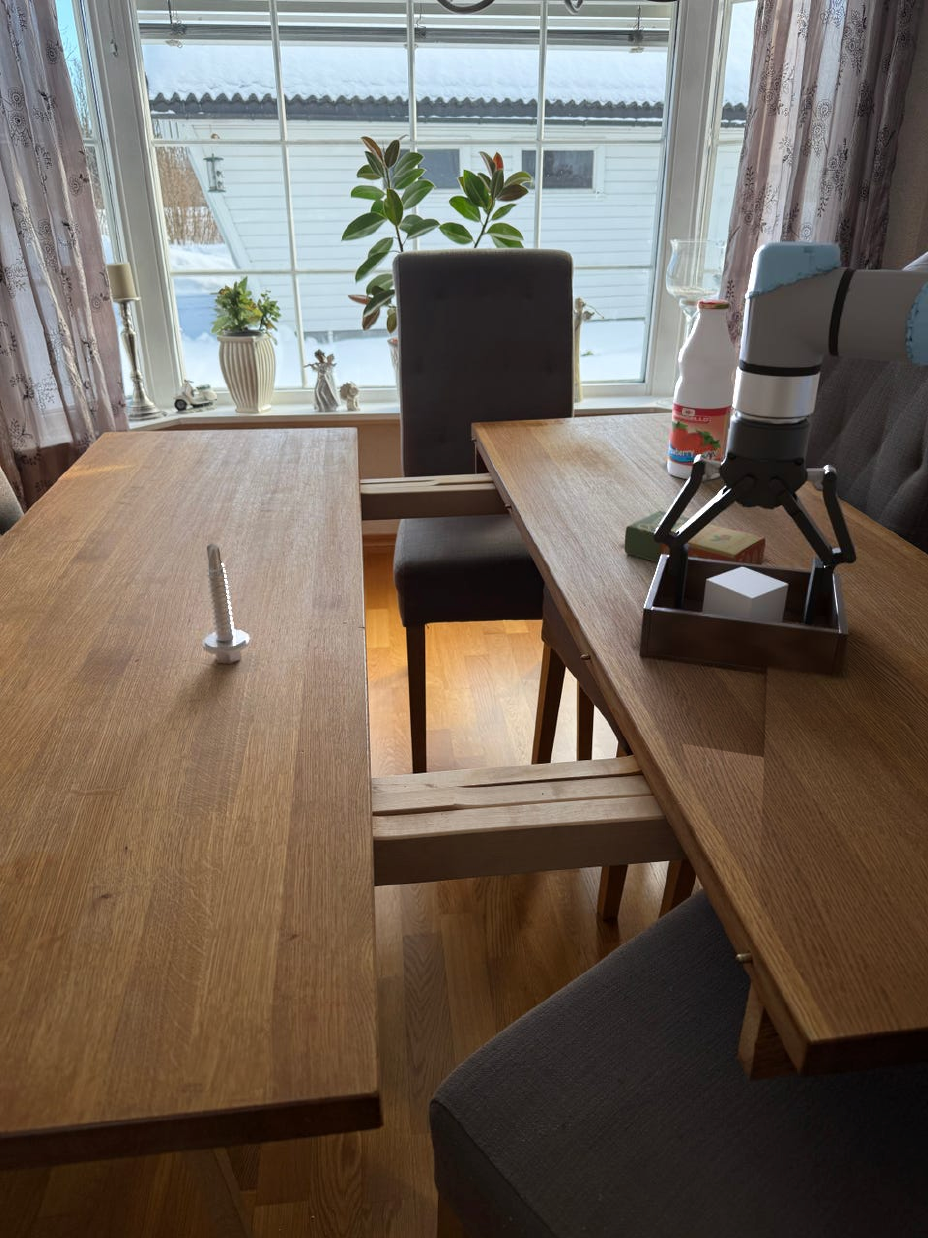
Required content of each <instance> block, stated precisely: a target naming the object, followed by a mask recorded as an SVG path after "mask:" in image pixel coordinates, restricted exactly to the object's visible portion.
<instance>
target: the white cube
mask: <svg viewBox="0 0 928 1238" xmlns="http://www.w3.org/2000/svg"><path fill="white" fill-rule="evenodd" d="M787 590H788V584H787V583H784V582H782V581H779V580H776V579H774V578H771V577H769V576H766V575H763V574H761V573H758V572H756V571H753V570H750V569H748V568H745V567H740V568H737V569H734V570H731V571H728V572H726V573H723V574H720V575H717V576H714V577H712V578H709V579H706V586H705V594H704V602H703V610H702V613H707V614H715V615H723V616H731V617H739V618H747V619H755V620H763V621H771V622H779V623H783V621H782V619H783V614H784V608H785V602H786V596H787Z"/></svg>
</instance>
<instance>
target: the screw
mask: <svg viewBox="0 0 928 1238" xmlns="http://www.w3.org/2000/svg"><path fill="white" fill-rule="evenodd" d="M206 552H207V560H208V569H206V572H208V574H206V575H207V576H206V577H207V578H208V581H207V583H209V586H208V588H209V589H210V591H209V594H211V596H210V599H211V600H212V601H210V604H212V605H213V606H212V607H211V610H213V612H212V615H214V617H213V620H214V626H215V627H214V630H215V631H213V632H212V633H210V634H207V636H206V637H205V638H204V639H203V640H202V643H201V644H202V649H203V650H204V651H205V652H207V653H210V654H213V655H215V658H216V662H217V664H228V665H231V664H233V663H235V662H238V661H240V660H242V654H241V651H243V650H244V649H246V648H247V647H248V646H249V645H250V643H251V636H250V635H249V634H248V633H247V632H245V631H243V630H241V629H235V628H234V622H233V617H232V615H233V613H232V607H231V602H230V598H231V597H230V596H229V594H230V592H229V586H228V585H227V584H228V580H227V575H226V573H227V572H226V570H225V564H224V563H222V558H221V552H220V547H219V546H217V544H215V543H213V542H212V543H210V544H208V545H207V546H206Z"/></svg>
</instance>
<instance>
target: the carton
mask: <svg viewBox="0 0 928 1238" xmlns="http://www.w3.org/2000/svg"><path fill="white" fill-rule="evenodd" d="M666 513H667V511H663V510H657V511H655V512H653V513H652V514H650V515H647V516H645V517H643V518H641V519H639V520H637V521H634V522H631V523H630V524H628V525H627V526H626V528H625V533H624V534H625V535H624V552H625V554H627V555H630V556H635V557H638V558H642V559H645V560H648V561H651V562H654V563H658V564H659V561H660V558H661V555H662V554H665V555H669V552H670V551H669V548H668V546H667V545H665V544H663V543H657V542H655V541H654V538H653V537H654V534H655V531H656V529H657V527H658V525H659V523H660V522H661V520H662V519H663V517H664V516H665V514H666ZM690 519H691V518H689V517H686V516H683V515H681V516H680V517H679V519H678V520H677V522H676V523H675V525H674V526H673V528H672V529H671V531H674V532H677V531H678V530H679V529H680V528H681V527H682V526H683V525H684V524H685V523H686V522H688V521H689V520H690ZM686 544H690V547H689V556H688V557H693V558H702V559H711V560H721V561H730V562H739V563H749V564H758V565H763V562H764V557H765V549H766V537H765V536H762V535H758V534H754V533H751V532H746V531H742V530H737V529H734V528H730V527H725V526H721V525H718V524H713V523H711V522H710V523H709V524H708V525H706V526H705V527H704V528H703V529H702V530H701V531H700V532H699V533H697V534H696V535H695V536H694V537H693V538H692V539H691V540H690V541H688V542H687V543H686Z"/></svg>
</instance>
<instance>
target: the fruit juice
mask: <svg viewBox="0 0 928 1238" xmlns="http://www.w3.org/2000/svg"><path fill="white" fill-rule="evenodd" d="M729 309H730V300H727V299H717V298H706V299H704V298H703V299H699V300H698V301H697V304H696V311H697V312H698V315H697V317H696V320H695V323H694V324H693V327H692V330H691V333H690V334H689V336H688V338H687V340H686V341H685V343H684V344H683V346H682V347H681V349H680V350H679V354H678V360H677V361H678V362H677V363H678V370H679V378H678V379H677V382H676V384H675V387H674V393H673V401H672V413H671V422H670V423H671V424H670V432H669V441H668V442H669V444H668V453H667V463H666V467H667V471H668V473H669V474H670V475H672V476H673V477H677V478H680V479H685V480H688V479H689V478H690V476H691V471H692V467H693V463H694V460H695V458H696V456H698V455H704V456H705V457H706V459H710V460H715V461H721V462H722V461H723V459H724V458H725V456H726V452H727V444H728V437H729V429H730V421H731V413H732V407H733V398H734V385H733V383H732V376H733V373H734V370H735V368H736V365H737V351H736V348H735V346H734V344H733V342H732V340H731V335H730V331H729V325H728V321H727V313H728V312H729ZM718 478H720V475H719V473H715V474H713V475H712V476H711V478H710V479H709V480H714V479H718Z"/></svg>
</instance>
